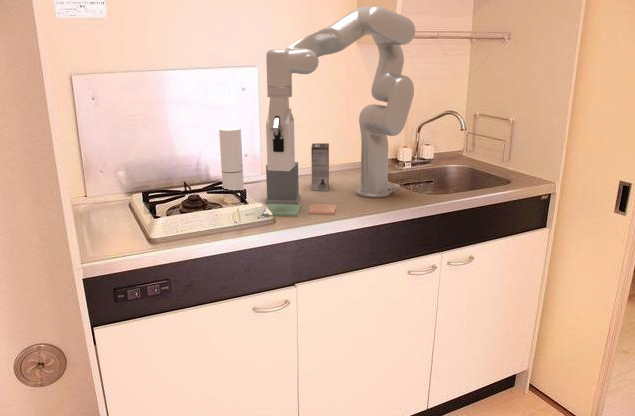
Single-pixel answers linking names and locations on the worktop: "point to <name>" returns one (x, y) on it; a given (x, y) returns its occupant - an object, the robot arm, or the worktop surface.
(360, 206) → the worktop surface
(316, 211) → the terracotta tile
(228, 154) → the cylindrical container
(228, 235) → the worktop surface
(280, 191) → the wall box
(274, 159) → the milk carton
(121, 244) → the worktop surface
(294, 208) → the green mat
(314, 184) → the coffee box
